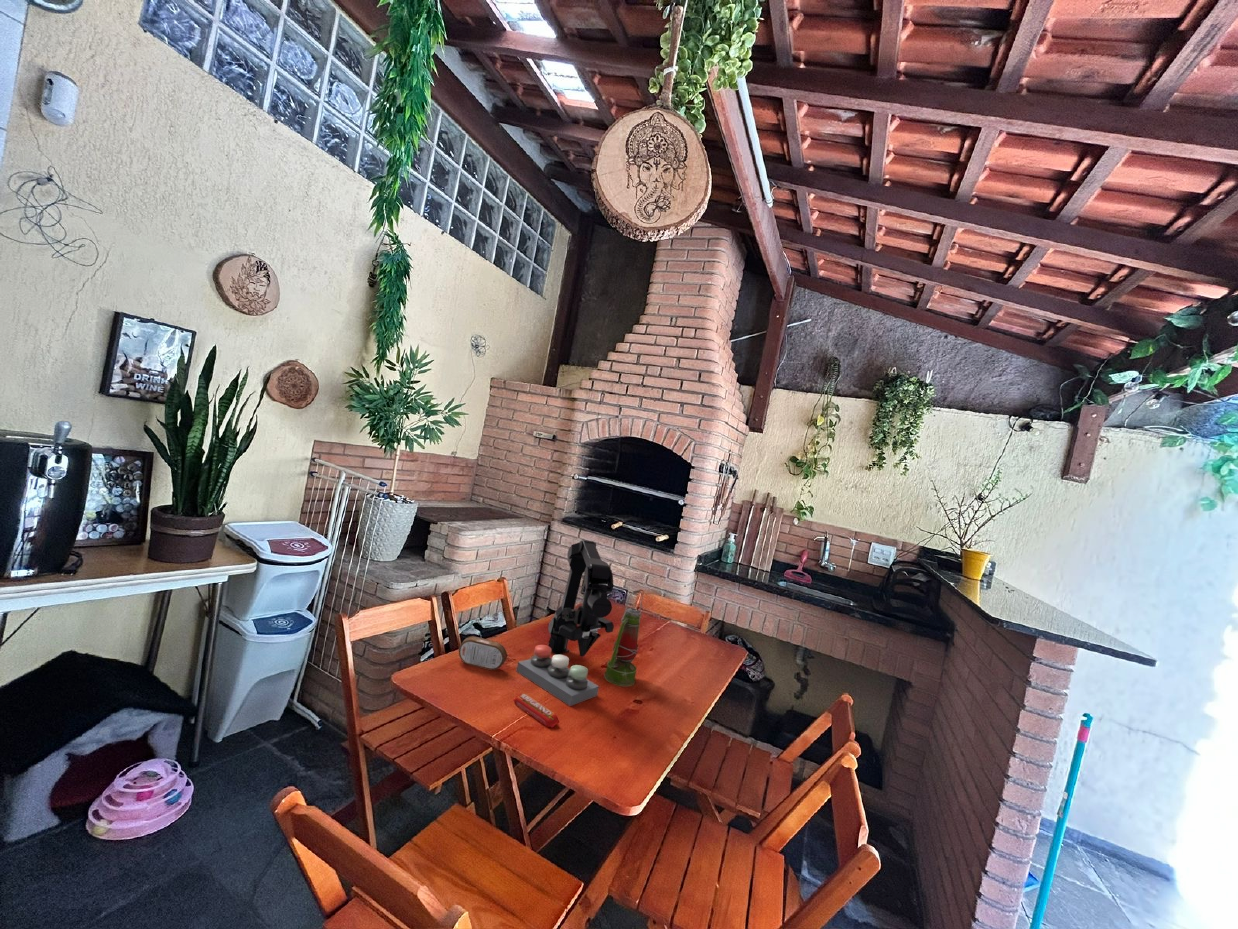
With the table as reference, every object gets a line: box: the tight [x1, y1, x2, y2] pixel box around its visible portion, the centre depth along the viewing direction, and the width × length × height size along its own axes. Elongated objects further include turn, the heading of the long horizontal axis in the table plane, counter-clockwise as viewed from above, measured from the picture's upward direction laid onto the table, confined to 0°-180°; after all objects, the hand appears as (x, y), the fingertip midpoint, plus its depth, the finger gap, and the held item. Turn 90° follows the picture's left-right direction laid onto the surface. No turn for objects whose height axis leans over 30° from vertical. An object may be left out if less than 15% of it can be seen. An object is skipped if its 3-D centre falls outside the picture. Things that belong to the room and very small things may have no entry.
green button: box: [569, 664, 589, 680], centre depth 157 cm, size 5×5×2 cm
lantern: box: [603, 589, 644, 687], centre depth 174 cm, size 14×11×30 cm
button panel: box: [516, 654, 600, 707], centre depth 162 cm, size 12×24×4 cm, turn 51°
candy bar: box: [512, 693, 560, 728], centre depth 142 cm, size 16×4×3 cm, turn 51°
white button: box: [551, 654, 570, 668], centre depth 162 cm, size 5×5×2 cm
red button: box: [533, 644, 552, 658], centre depth 167 cm, size 5×5×2 cm
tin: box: [458, 636, 508, 671], centre depth 163 cm, size 15×3×8 cm, turn 84°
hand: (581, 656), depth 156 cm, fingers closed
